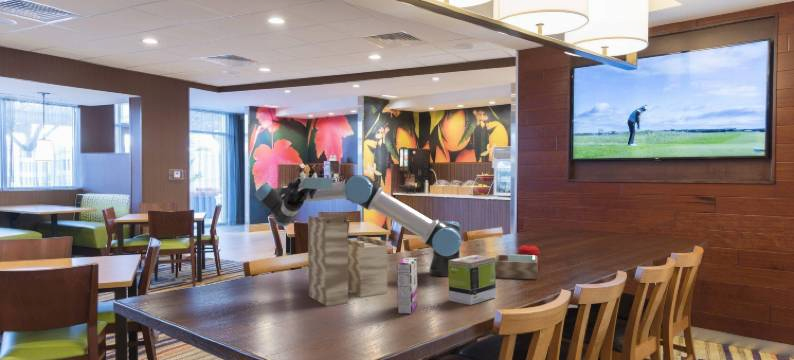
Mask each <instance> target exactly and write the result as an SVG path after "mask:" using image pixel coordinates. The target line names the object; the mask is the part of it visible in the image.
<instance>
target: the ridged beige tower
mask: <svg viewBox="0 0 794 360" xmlns="http://www.w3.org/2000/svg"><path fill="white" fill-rule="evenodd" d="M348 293H351V294H353V295H355V296H356V297H359V298H364V297H372V296H379V295H386V294H388V245H387V242H386V240H381V239H377V238H372V237H368V236H364V235H361V234H360V235H357V238H356V239H349V238H348Z"/></svg>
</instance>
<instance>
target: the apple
mask: <svg viewBox="0 0 794 360" xmlns="http://www.w3.org/2000/svg"><path fill="white" fill-rule="evenodd" d="M517 252H518V254H517V255H535V256H537V259H538V260H539V258H540V254H541V252H540V249H539V248H538V247H537V246H535V245H531V244H529V243H528V244H527V245H521V246H520V247H519V248H518V251H517Z"/></svg>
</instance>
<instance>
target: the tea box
mask: <svg viewBox="0 0 794 360" xmlns="http://www.w3.org/2000/svg"><path fill="white" fill-rule="evenodd" d="M495 257H496V256H495ZM495 257H493V256H486V255H475V254H472V255H467V256H462V257H461V256H460V258H457V259H452V260H448V270H449V276H448V296H449V297H448V301H450V302H454V303H459V304H465V305H469V306H472V305H474V304H478V303H483V302H484V301H485V302H486V301H488V300H491V299H495V298H497V287H496V286H497V285H496V284H497V283H496V279H497V278H496V277H495Z"/></svg>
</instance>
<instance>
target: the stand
mask: <svg viewBox="0 0 794 360" xmlns="http://www.w3.org/2000/svg"><path fill="white" fill-rule="evenodd" d="M348 218H349V217H348V213H334V214H333V213H331V214H330V213H329V214H324V217H321V216H315V215H309V216H308V220H307V229H308V230H307V231H308V233H307V235H308V236H307V240H308V241H307V242H308V243H307V249H308V252H307V253H308V255H307V256H308V260H307V261H308V297H310V298H312V299H313V300H315V301H317V302H319V303H321V304H323V306H325V307H330V306H335V305H336V306H337V305H344V304H348V303H349V292H348V239H349V237H348V235H349V233H348V230H349V229H348V226H349V224H348Z"/></svg>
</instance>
